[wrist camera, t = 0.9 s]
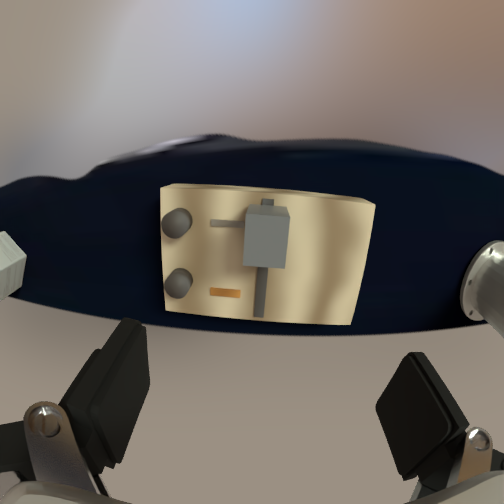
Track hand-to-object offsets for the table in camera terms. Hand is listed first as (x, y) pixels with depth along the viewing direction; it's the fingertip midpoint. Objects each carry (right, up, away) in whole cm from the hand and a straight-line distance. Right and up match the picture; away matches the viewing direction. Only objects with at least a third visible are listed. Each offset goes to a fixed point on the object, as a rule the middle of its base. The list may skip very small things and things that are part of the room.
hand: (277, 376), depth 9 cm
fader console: (0, +5, +21) cm, 22 cm away
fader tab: (0, +6, +16) cm, 17 cm away
